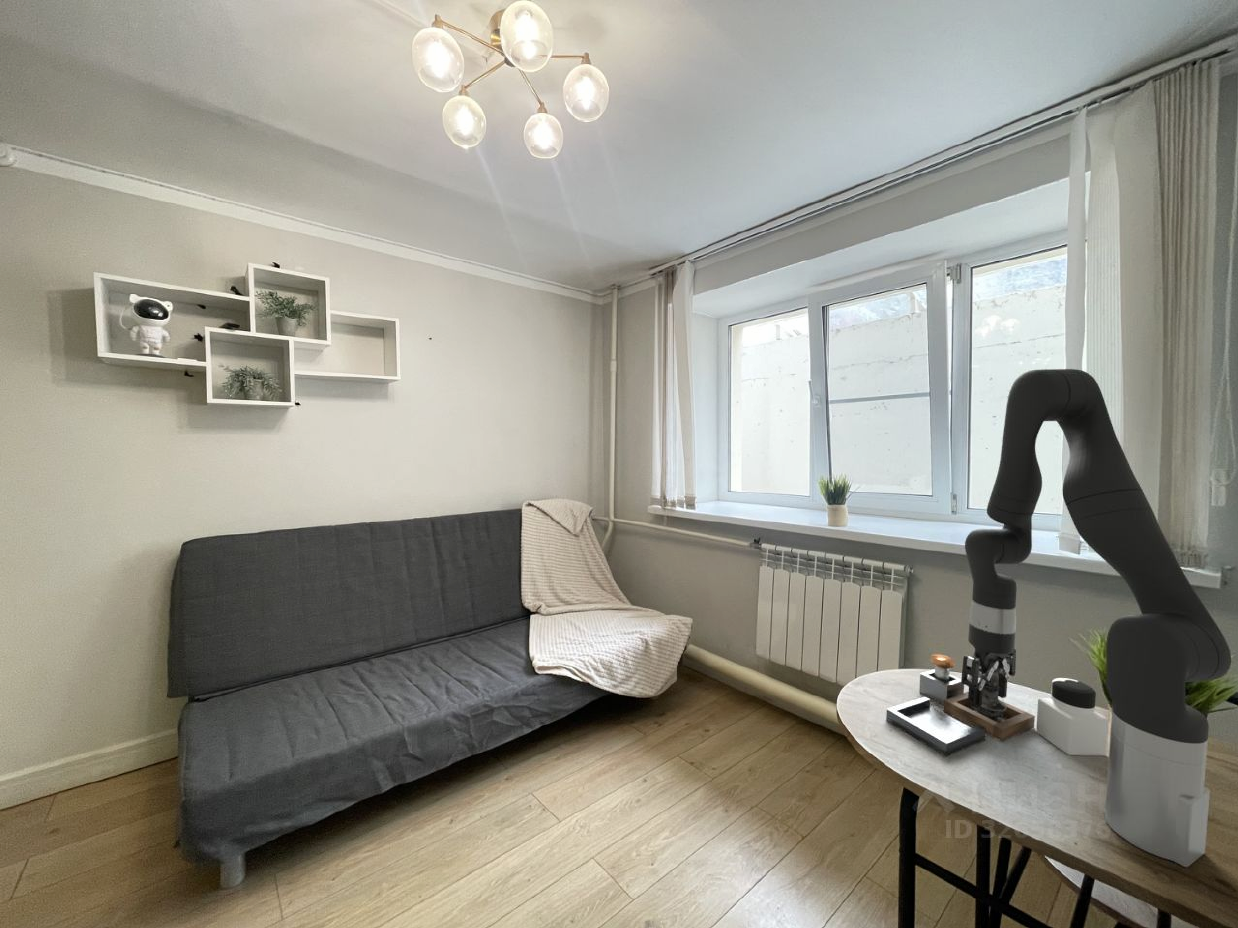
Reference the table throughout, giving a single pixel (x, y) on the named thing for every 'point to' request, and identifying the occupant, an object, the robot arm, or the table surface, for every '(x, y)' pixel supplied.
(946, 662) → the copper mushroom knob
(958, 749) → the tray
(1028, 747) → the table surface
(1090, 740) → the medicine bottle
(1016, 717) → the socket collar
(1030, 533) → the robot arm
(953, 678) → the housing
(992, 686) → the dark grey chess piece
